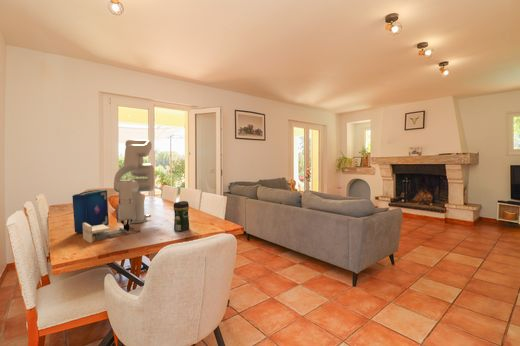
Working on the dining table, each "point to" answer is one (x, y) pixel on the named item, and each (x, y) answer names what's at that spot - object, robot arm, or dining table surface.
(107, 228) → the shelf
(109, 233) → the slate gray sliding drawer
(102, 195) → the book
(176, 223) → the coffee jar
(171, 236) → the dining table surface
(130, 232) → the guide rails
